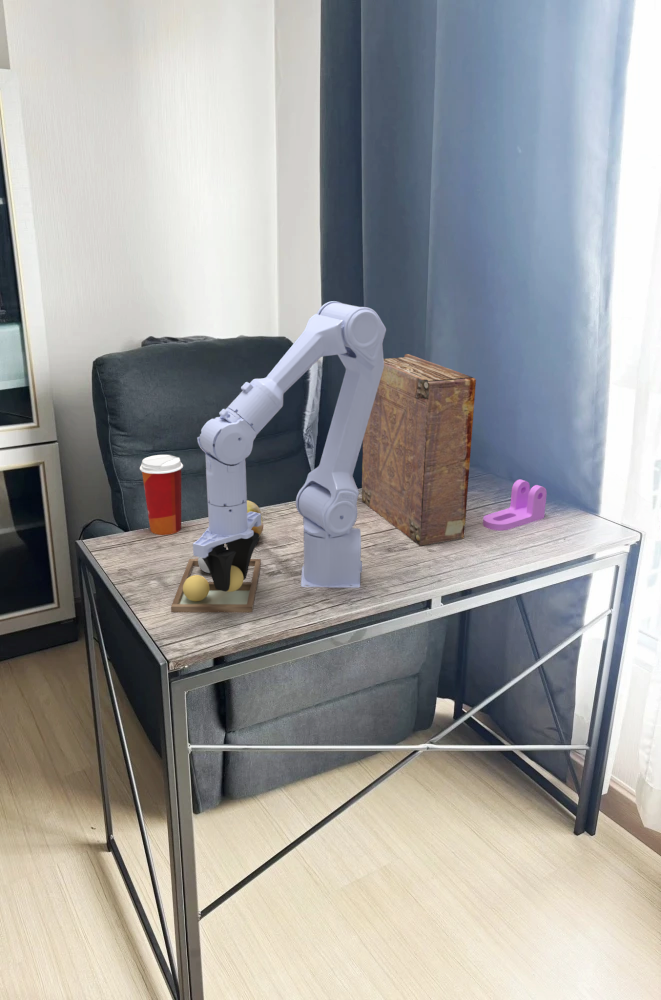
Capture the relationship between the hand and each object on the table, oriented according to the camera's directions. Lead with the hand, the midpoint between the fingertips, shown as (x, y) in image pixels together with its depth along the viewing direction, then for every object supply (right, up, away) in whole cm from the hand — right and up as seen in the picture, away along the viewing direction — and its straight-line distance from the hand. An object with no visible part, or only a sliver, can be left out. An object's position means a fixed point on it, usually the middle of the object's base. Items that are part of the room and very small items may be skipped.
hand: (230, 583), depth 122 cm
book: (+31, +9, +35) cm, 47 cm away
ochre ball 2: (0, -1, 0) cm, 1 cm away
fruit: (-1, +5, +23) cm, 24 cm away
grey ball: (-5, +1, +10) cm, 11 cm away
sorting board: (-3, -2, +5) cm, 6 cm away
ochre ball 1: (-5, -3, +1) cm, 6 cm away
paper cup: (-16, +7, +28) cm, 33 cm away
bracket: (+50, +8, +34) cm, 61 cm away
